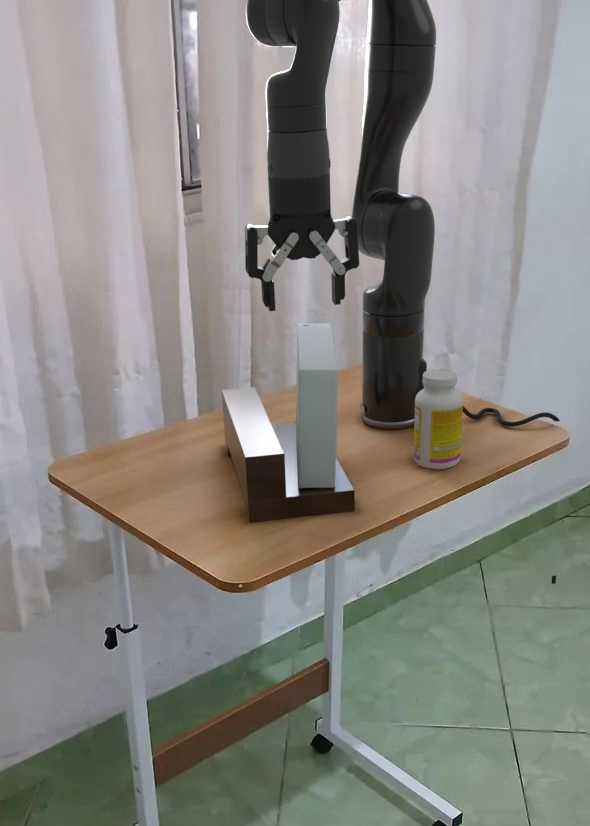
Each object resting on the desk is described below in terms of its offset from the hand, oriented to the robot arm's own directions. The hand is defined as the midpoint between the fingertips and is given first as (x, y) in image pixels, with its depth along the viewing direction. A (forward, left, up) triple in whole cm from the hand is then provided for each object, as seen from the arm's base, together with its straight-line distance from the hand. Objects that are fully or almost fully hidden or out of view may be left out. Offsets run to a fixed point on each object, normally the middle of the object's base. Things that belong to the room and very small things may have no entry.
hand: (303, 306), depth 133 cm
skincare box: (-1, +2, -21) cm, 21 cm away
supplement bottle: (-19, 0, -24) cm, 30 cm away
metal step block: (+3, 0, -23) cm, 24 cm away
